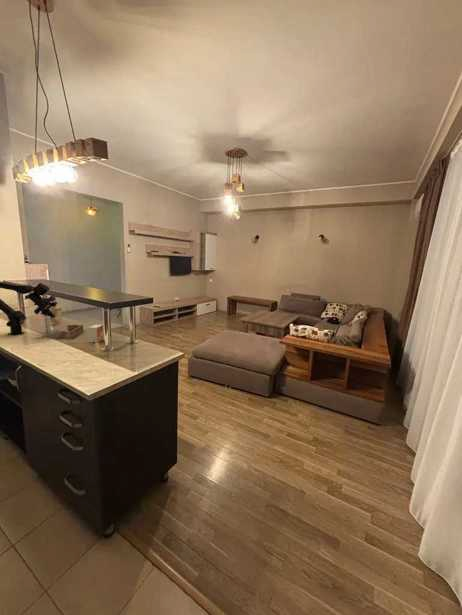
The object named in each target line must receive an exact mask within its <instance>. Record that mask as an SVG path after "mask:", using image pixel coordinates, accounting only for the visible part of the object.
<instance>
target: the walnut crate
mask: <svg viewBox="0 0 462 615" xmlns="http://www.w3.org/2000/svg"><path fill="white" fill-rule="evenodd" d="M66 327H67V330H55V332H56V337H55V339H62V340H63V339H67V340H73V339H75V338H76V337H78V336H79V335H80V334H82V333H83V332H84V324H67V326H66Z"/></svg>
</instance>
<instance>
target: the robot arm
mask: <svg viewBox="0 0 462 615" xmlns="http://www.w3.org/2000/svg"><path fill="white" fill-rule="evenodd" d="M0 289H4V290H9V291H15V292H16V293H18V294H22V295H24V300H31V301H32V303H34V304H33V305H34V306H37V307H36V308H35V309H34V311H33V312H34V313H35V315H44V316H45V317H49V318H50V317H53V318H54V317H55V316H54V315H53V314H52V313H51V312H50V311H49V308H51V307H57V305H59V303H58V302H57V300H56V298H57V297H56V296H55V295H50V296H48V298H45V297H43V296H44V295H45V294H47V293H48V292H49V291H50V287H49V286H48V285H46V284H43V283H41V282H40V283H38V284H37V285H36V286H32V285H31V284H16V283H10V282H4V281H0ZM0 311H1V312H3V313H4V314H5V315H6V317H7V319H8V321H6V324H5V325H6V327H9V330H10V332H8V333H7V334H8V335H12V336H18V335H21V334H22V335H23V334H25V331H23V328H22V324H24V322H25V321H26V319H27V316H26V315H25V313H23V312H22V311H21V310H20V309H18V310H16V309H15V310H14V308H12V307H11V306H10V305H8V304H7V303H6V302H5V301H4V300H2V299H1V298H0Z"/></svg>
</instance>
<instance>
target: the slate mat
mask: <svg viewBox="0 0 462 615" xmlns="http://www.w3.org/2000/svg"><path fill="white" fill-rule="evenodd" d="M55 331H56V330H55ZM55 331H53V330H52V331H50V332H48V333H46V334H44V335H41V338H56V332H55Z"/></svg>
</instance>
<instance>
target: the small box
mask: <svg viewBox="0 0 462 615" xmlns="http://www.w3.org/2000/svg"><path fill="white" fill-rule="evenodd" d="M102 340H104V324H94V325H91V326H88V341H89V343H93V342H95V343H96V344H97V342H98V343H99V342H102Z"/></svg>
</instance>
